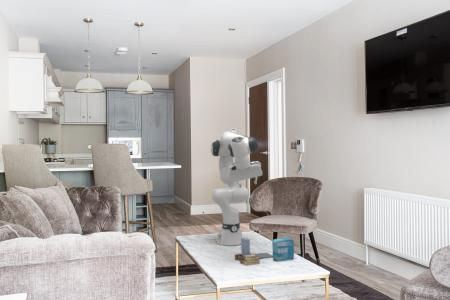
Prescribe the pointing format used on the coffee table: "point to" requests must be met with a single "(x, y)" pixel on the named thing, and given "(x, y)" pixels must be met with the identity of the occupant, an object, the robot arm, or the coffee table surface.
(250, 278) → the coffee table surface
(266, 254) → the felt mat
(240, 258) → the rack
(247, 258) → the offcut stack
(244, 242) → the pale blue pillar
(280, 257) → the data package
